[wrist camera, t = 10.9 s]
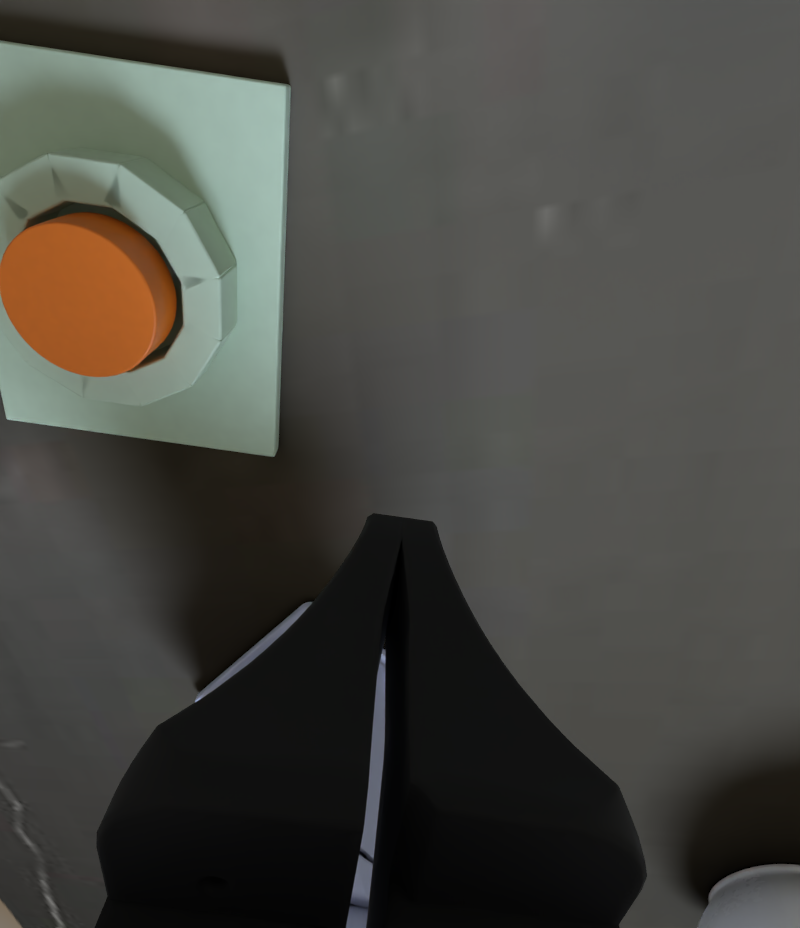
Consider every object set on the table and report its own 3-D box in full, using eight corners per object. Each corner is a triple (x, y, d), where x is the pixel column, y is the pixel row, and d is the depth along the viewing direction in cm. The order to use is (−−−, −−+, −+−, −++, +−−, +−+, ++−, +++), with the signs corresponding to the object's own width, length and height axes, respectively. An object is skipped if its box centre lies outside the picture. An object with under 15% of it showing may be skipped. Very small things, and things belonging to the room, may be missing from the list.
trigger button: (181, 366, 20) (161, 387, 19) (44, 347, 20) (14, 366, 19) (173, 223, 18) (150, 235, 16) (18, 201, 18) (-18, 210, 16)
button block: (278, 449, 24) (262, 484, 22) (16, 411, 24) (-26, 443, 22) (291, 84, 18) (270, 83, 16) (-63, 30, 18) (-133, 22, 15)
